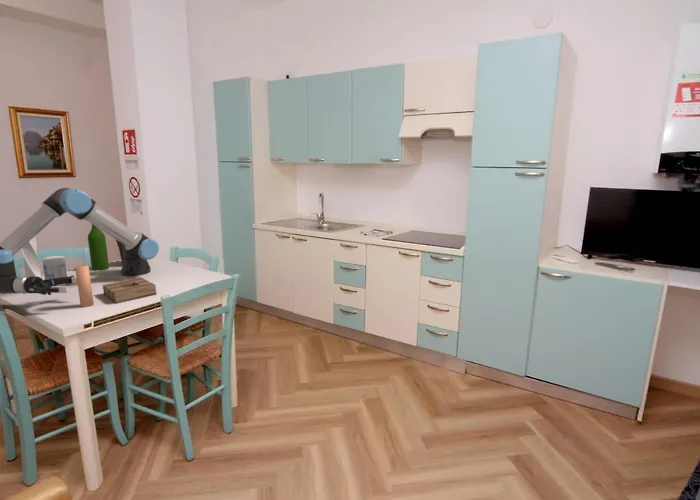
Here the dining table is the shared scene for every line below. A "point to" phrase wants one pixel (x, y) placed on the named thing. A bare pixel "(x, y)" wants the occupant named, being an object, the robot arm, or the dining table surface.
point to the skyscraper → (31, 259)
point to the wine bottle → (98, 249)
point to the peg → (84, 286)
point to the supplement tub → (54, 267)
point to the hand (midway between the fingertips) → (77, 284)
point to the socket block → (129, 290)
